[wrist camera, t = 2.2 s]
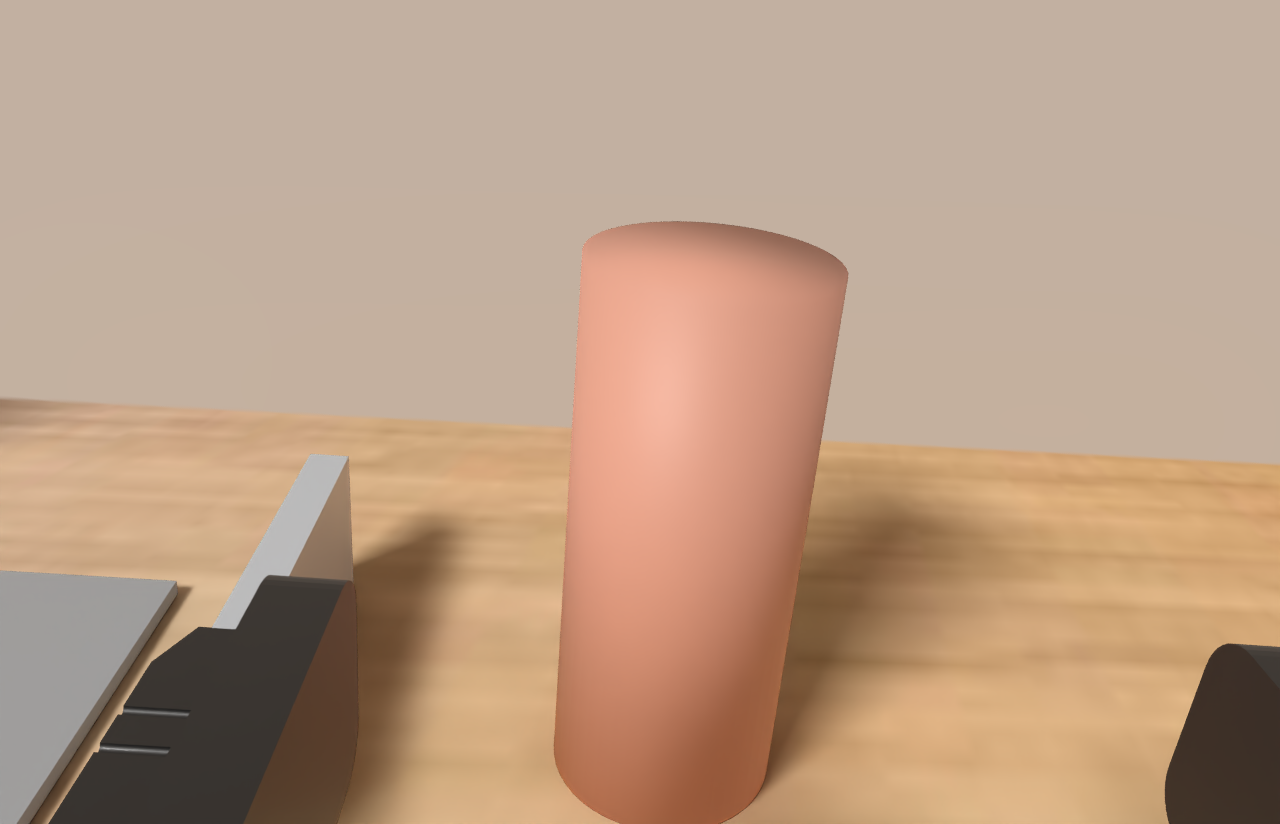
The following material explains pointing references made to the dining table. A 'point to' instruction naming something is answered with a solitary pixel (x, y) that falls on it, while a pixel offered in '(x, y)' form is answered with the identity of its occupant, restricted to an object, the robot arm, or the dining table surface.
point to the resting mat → (62, 669)
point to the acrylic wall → (302, 535)
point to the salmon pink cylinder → (687, 510)
